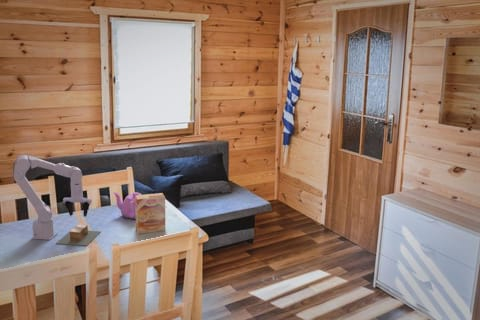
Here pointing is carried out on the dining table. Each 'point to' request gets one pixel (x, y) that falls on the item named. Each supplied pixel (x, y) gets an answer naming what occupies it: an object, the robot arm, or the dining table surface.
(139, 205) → the coffeecake box
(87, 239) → the mat
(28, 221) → the dining table surface
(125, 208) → the teapot
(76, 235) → the card box
